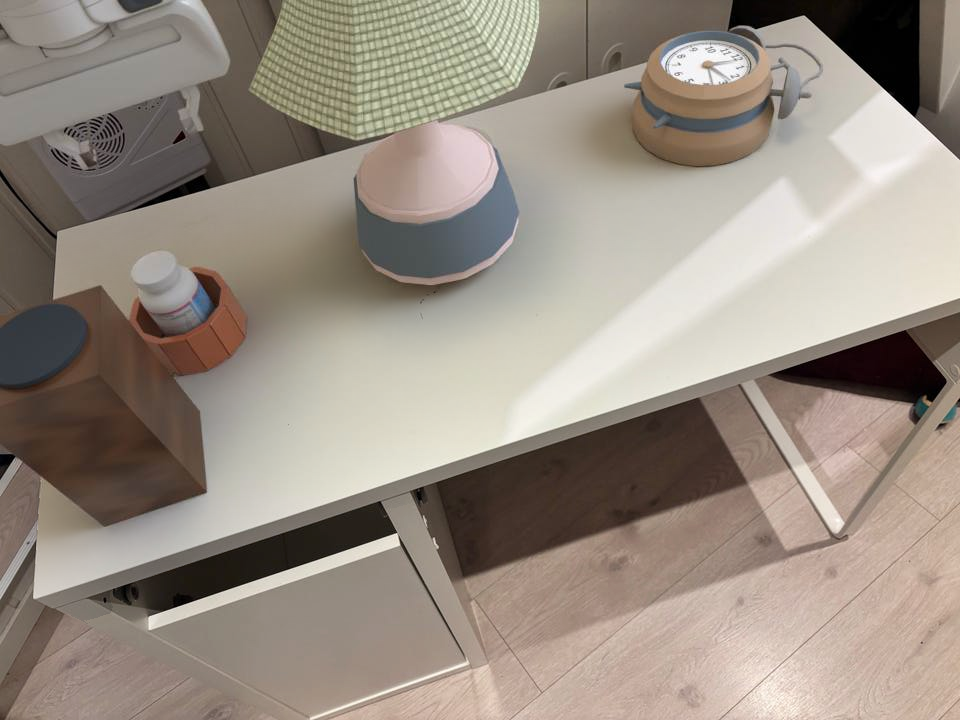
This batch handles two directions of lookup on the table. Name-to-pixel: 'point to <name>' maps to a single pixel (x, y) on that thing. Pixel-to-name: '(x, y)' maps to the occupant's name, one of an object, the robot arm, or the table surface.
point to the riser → (107, 421)
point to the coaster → (39, 344)
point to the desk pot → (197, 330)
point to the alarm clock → (712, 96)
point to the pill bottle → (171, 293)
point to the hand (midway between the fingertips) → (144, 146)
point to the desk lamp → (409, 118)
